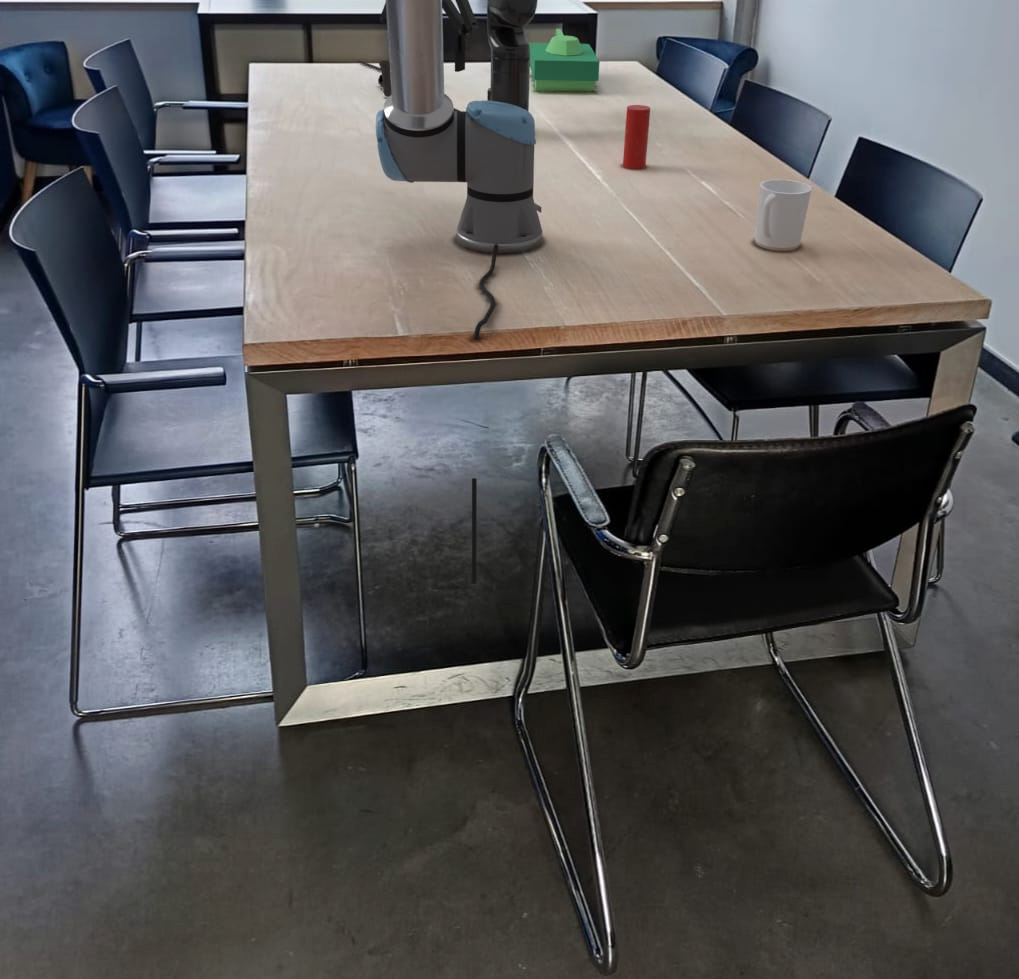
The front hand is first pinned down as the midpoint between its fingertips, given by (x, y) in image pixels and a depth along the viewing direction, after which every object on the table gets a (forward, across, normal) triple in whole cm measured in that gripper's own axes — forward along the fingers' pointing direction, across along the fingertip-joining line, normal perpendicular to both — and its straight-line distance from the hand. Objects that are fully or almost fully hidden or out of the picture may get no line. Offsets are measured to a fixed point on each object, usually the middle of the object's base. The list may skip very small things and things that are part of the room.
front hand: (429, 67), depth 211 cm
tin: (+23, -30, -36) cm, 53 cm away
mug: (+23, -72, +1) cm, 75 cm away
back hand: (-6, -5, -83) cm, 84 cm away
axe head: (+23, +52, -75) cm, 94 cm away
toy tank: (+23, +21, -111) cm, 115 cm away
